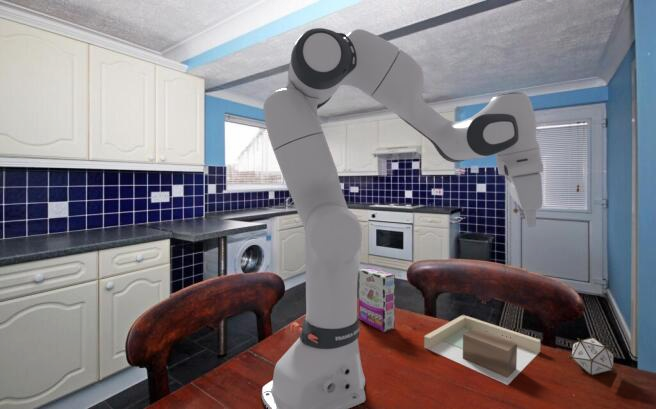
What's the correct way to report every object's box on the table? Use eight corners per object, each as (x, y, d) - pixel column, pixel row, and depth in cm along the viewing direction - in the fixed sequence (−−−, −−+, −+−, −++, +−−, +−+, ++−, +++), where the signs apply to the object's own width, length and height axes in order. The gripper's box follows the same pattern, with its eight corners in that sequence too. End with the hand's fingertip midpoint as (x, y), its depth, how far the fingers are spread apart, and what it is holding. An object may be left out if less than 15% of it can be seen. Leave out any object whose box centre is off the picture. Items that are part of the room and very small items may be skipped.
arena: (507, 388, 66) (508, 371, 66) (424, 350, 81) (424, 336, 81) (540, 354, 79) (540, 339, 78) (462, 327, 94) (462, 314, 94)
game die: (602, 393, 70) (638, 374, 63) (562, 375, 71) (593, 355, 65) (590, 356, 77) (622, 335, 70) (554, 341, 78) (582, 319, 72)
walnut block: (507, 377, 68) (508, 351, 68) (462, 358, 76) (463, 334, 75) (516, 369, 71) (517, 343, 71) (472, 351, 79) (473, 328, 79)
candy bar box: (395, 328, 94) (396, 274, 93) (384, 333, 91) (384, 277, 90) (369, 315, 103) (369, 266, 102) (358, 319, 100) (358, 269, 99)
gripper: (499, 163, 84) (507, 213, 86) (508, 170, 66) (518, 233, 67) (526, 158, 82) (534, 210, 83) (544, 163, 63) (554, 230, 65)
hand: (527, 221), depth 75 cm, fingers open, 8 cm apart
